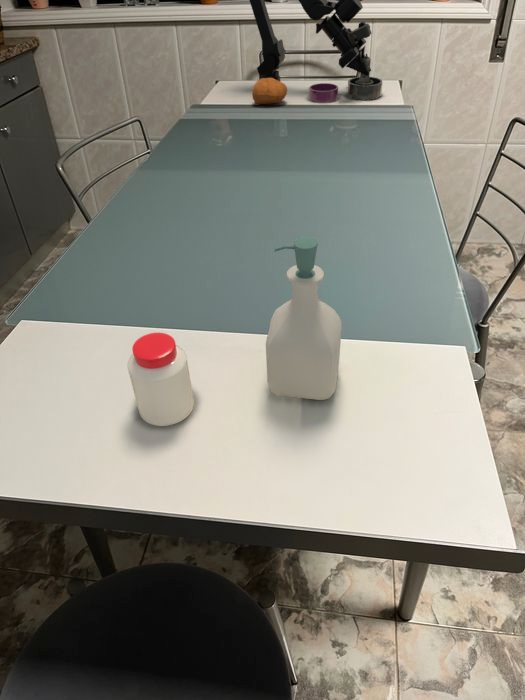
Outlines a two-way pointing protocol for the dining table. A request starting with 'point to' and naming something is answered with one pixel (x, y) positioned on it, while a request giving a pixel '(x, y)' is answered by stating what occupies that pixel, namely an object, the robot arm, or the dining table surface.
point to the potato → (269, 91)
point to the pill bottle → (160, 379)
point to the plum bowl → (323, 93)
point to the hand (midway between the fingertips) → (369, 73)
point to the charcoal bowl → (364, 89)
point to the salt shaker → (363, 78)
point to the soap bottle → (303, 333)
